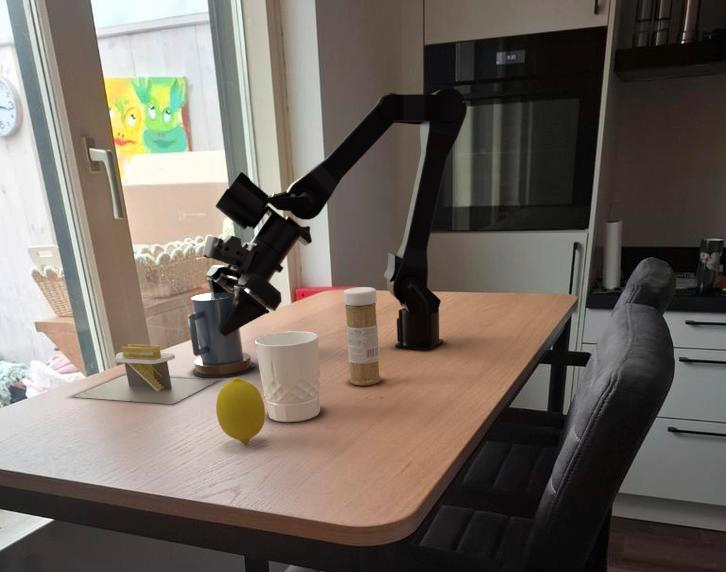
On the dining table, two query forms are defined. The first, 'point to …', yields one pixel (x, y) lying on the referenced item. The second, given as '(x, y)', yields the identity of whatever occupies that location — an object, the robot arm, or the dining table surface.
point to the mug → (215, 336)
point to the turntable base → (224, 375)
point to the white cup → (290, 374)
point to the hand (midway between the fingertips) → (212, 329)
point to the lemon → (240, 410)
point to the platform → (146, 379)
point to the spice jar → (362, 335)
